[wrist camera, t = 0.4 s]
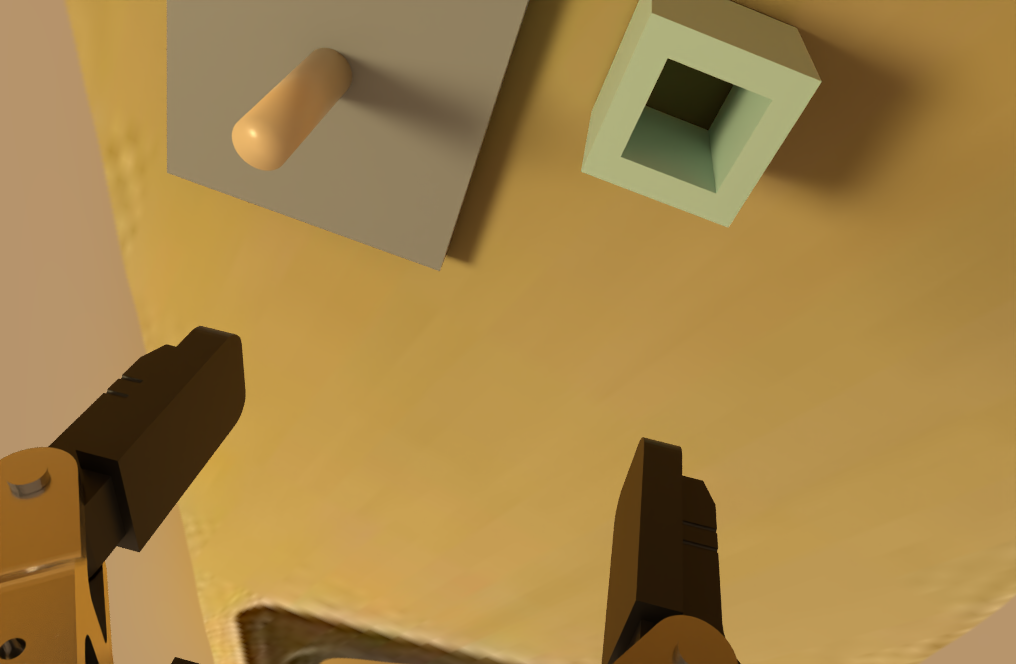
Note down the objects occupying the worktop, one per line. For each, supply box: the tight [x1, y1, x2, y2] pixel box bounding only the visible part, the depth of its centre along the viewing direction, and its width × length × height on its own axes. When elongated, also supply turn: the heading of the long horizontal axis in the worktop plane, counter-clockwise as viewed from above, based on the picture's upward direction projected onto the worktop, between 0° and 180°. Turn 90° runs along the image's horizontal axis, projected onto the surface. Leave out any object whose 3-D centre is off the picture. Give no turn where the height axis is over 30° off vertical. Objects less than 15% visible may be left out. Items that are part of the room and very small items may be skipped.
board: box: [167, 0, 529, 271], centre depth 28 cm, size 16×14×8 cm
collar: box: [581, 0, 822, 227], centre depth 27 cm, size 6×6×6 cm
